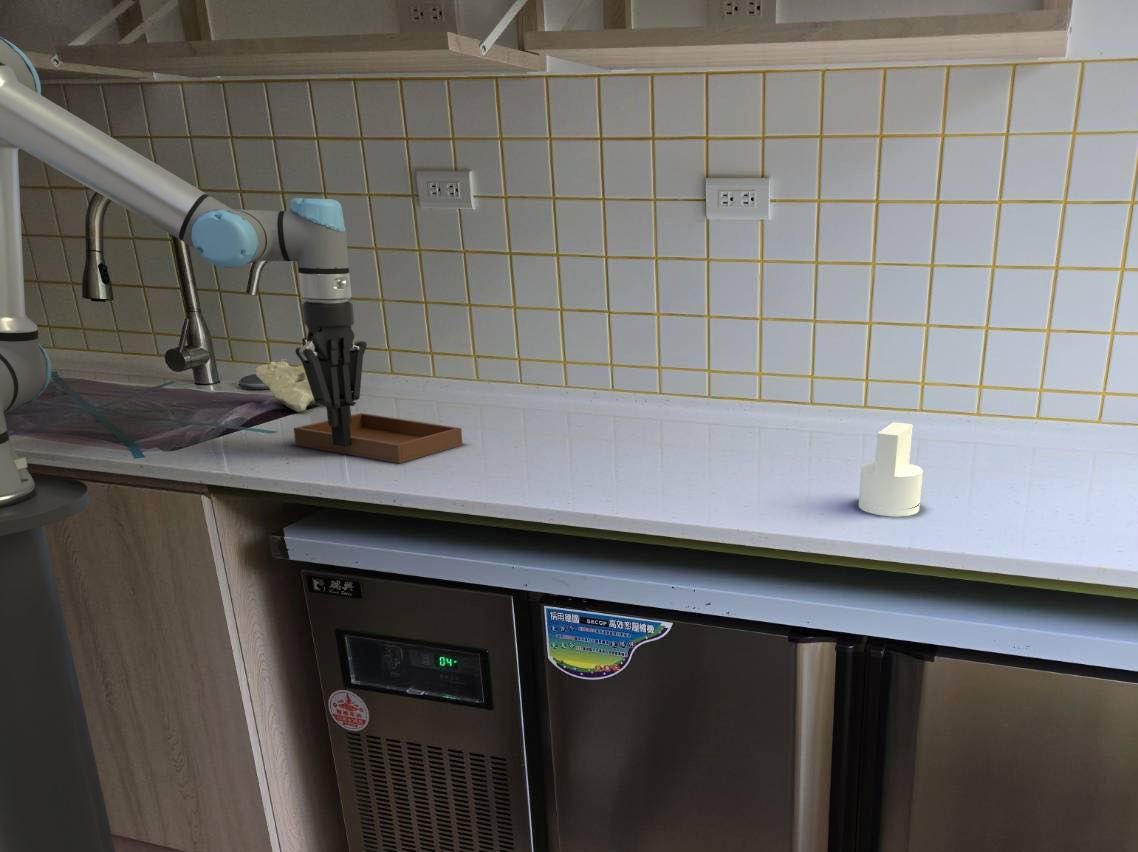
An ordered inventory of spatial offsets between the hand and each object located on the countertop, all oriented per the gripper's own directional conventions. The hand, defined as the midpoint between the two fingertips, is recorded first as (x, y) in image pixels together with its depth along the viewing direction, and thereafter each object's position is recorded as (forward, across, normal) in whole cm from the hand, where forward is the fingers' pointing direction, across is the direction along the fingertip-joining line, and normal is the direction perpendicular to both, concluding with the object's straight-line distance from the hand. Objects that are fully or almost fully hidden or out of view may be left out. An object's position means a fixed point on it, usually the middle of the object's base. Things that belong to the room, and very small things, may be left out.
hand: (342, 444), depth 164 cm
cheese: (+2, +23, +39) cm, 46 cm away
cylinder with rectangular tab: (+2, +19, -90) cm, 92 cm away
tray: (+2, +8, 0) cm, 9 cm away
